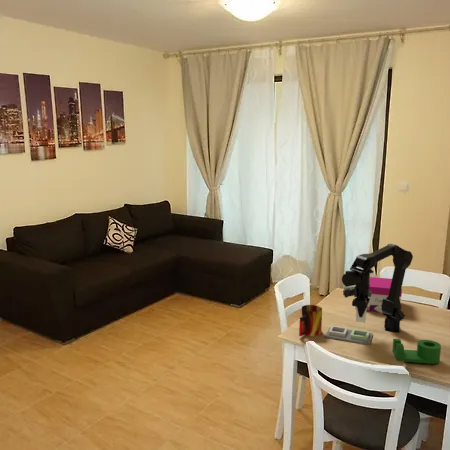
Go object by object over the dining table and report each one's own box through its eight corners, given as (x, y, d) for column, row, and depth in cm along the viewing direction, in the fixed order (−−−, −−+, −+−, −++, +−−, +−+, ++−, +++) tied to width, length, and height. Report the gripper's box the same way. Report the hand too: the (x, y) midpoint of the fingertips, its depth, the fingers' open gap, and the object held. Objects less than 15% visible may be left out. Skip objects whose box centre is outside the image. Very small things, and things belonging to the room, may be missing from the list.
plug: (365, 319, 210) (366, 303, 209) (364, 322, 207) (365, 306, 205) (355, 318, 212) (356, 301, 211) (354, 321, 209) (355, 304, 207)
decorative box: (362, 313, 243) (363, 286, 240) (362, 301, 261) (364, 276, 258) (400, 317, 237) (401, 289, 235) (397, 305, 255) (399, 279, 252)
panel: (372, 335, 214) (372, 330, 214) (369, 345, 203) (369, 340, 203) (330, 328, 222) (330, 323, 222) (324, 337, 212) (325, 332, 211)
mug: (298, 338, 211) (299, 313, 209) (301, 327, 224) (302, 303, 222) (320, 340, 208) (321, 315, 206) (321, 329, 221) (322, 305, 219)
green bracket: (436, 354, 195) (437, 340, 194) (442, 364, 186) (443, 349, 185) (392, 351, 198) (393, 337, 197) (396, 361, 189) (397, 346, 188)
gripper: (348, 275, 218) (346, 306, 221) (341, 286, 201) (339, 320, 204) (372, 278, 213) (370, 310, 216) (367, 289, 197) (365, 323, 199)
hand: (361, 315), depth 209 cm, fingers closed on plug, 4 cm apart
